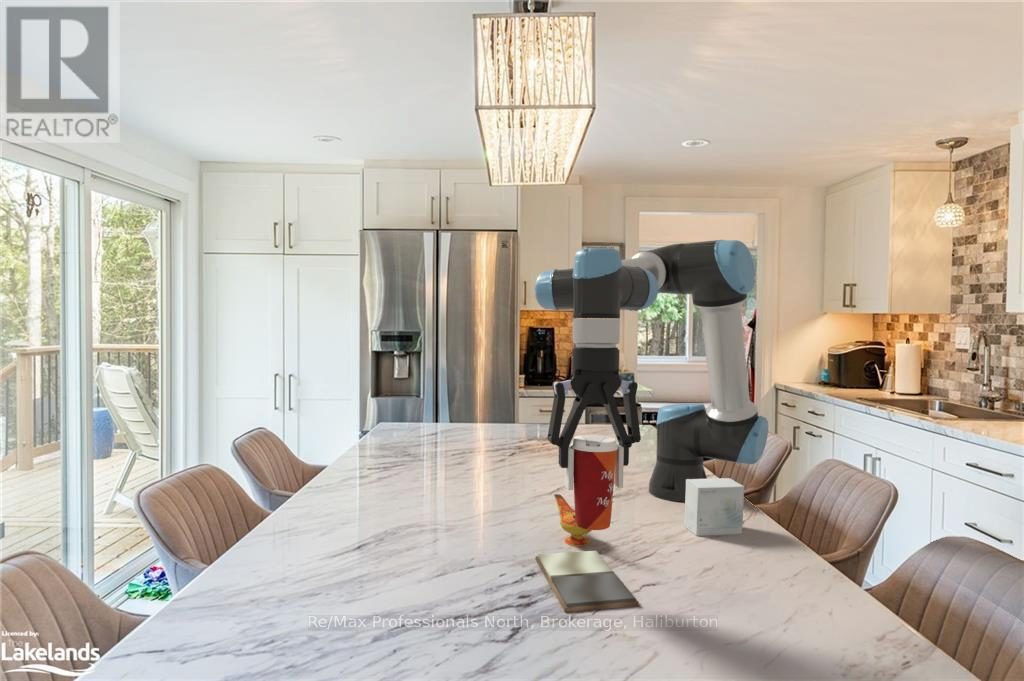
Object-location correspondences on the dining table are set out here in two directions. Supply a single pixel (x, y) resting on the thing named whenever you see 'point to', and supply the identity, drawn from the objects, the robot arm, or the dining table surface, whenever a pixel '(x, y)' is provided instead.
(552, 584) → the wooden framed mirror
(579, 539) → the magic lamp
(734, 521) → the skincare box
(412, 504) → the dining table surface
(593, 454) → the paper cup
